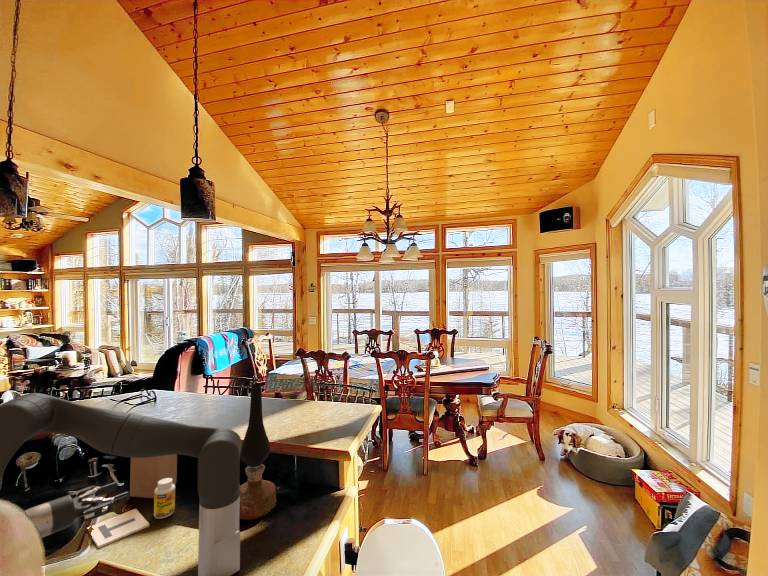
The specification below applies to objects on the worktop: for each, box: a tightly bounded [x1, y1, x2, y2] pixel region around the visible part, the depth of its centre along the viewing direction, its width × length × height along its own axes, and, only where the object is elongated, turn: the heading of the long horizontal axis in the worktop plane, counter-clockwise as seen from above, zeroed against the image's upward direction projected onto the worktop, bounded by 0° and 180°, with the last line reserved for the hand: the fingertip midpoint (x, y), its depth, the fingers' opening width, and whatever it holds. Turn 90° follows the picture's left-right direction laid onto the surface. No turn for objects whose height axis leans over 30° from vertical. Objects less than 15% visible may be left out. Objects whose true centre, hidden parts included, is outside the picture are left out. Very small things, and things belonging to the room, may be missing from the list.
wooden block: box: [129, 454, 178, 499], centre depth 123 cm, size 10×10×20 cm
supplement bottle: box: [153, 478, 176, 520], centre depth 110 cm, size 6×6×10 cm
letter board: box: [86, 508, 150, 549], centre depth 103 cm, size 12×12×1 cm
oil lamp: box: [239, 383, 277, 521], centre depth 117 cm, size 14×15×40 cm
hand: (122, 490), depth 101 cm, fingers open, 8 cm apart
